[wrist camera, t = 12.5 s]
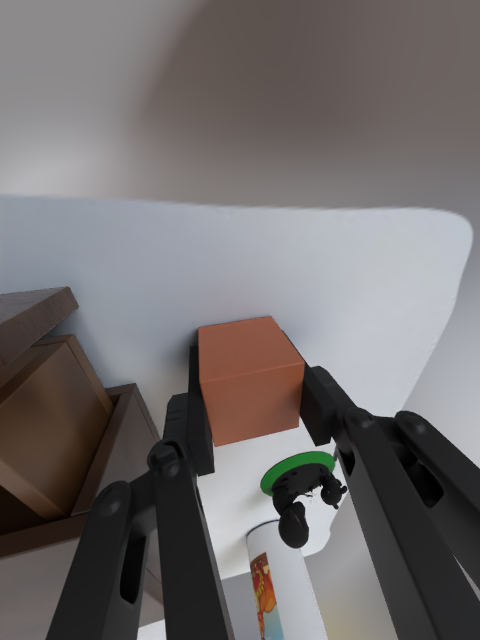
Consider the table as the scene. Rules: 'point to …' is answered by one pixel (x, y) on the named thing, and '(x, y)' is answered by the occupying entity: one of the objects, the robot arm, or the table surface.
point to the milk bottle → (282, 588)
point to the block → (249, 379)
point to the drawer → (45, 410)
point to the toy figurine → (300, 491)
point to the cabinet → (78, 530)
